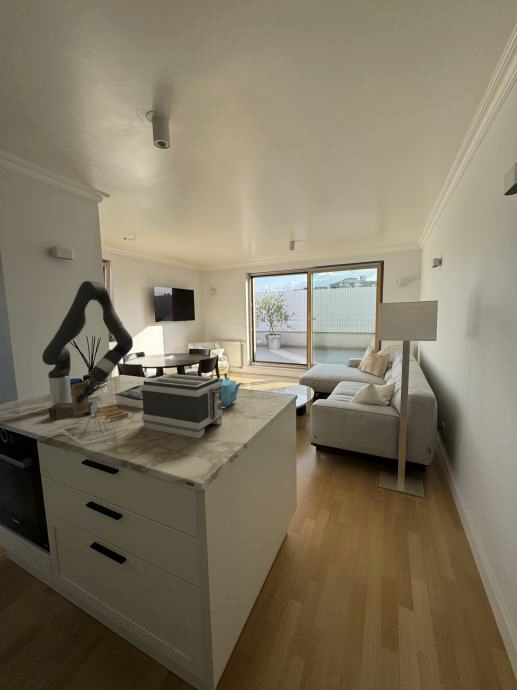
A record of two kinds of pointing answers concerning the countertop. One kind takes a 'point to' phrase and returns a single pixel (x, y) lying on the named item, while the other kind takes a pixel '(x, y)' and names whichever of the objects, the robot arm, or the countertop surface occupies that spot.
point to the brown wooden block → (76, 392)
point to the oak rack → (110, 413)
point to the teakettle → (228, 391)
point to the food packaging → (130, 397)
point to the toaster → (181, 404)
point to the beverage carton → (68, 410)
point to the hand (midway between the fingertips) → (75, 402)
